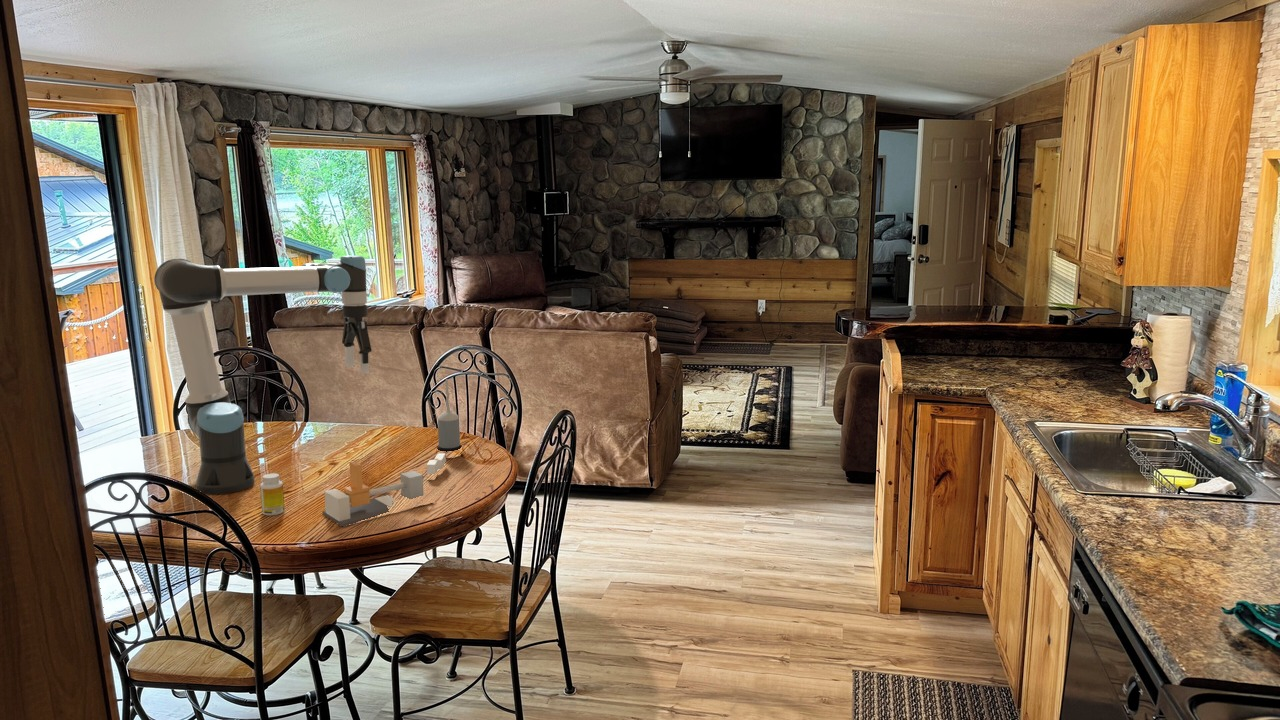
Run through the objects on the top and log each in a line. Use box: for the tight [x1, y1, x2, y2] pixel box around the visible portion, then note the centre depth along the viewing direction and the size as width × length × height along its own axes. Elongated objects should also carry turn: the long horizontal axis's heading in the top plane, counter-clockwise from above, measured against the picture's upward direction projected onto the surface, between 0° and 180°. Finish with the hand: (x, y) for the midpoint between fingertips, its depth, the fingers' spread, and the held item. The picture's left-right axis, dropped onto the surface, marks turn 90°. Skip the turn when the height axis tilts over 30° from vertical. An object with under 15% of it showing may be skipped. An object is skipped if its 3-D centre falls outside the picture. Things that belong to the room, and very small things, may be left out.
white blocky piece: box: [426, 453, 447, 475], centre depth 262 cm, size 15×11×6 cm
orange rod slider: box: [343, 460, 371, 508], centre depth 228 cm, size 5×4×11 cm
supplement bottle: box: [259, 472, 286, 517], centre depth 229 cm, size 6×6×10 cm
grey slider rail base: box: [322, 470, 425, 528], centre depth 233 cm, size 26×12×8 cm, turn 134°
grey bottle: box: [436, 379, 463, 452], centre depth 280 cm, size 8×8×25 cm
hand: (357, 369), depth 281 cm, fingers open, 13 cm apart
